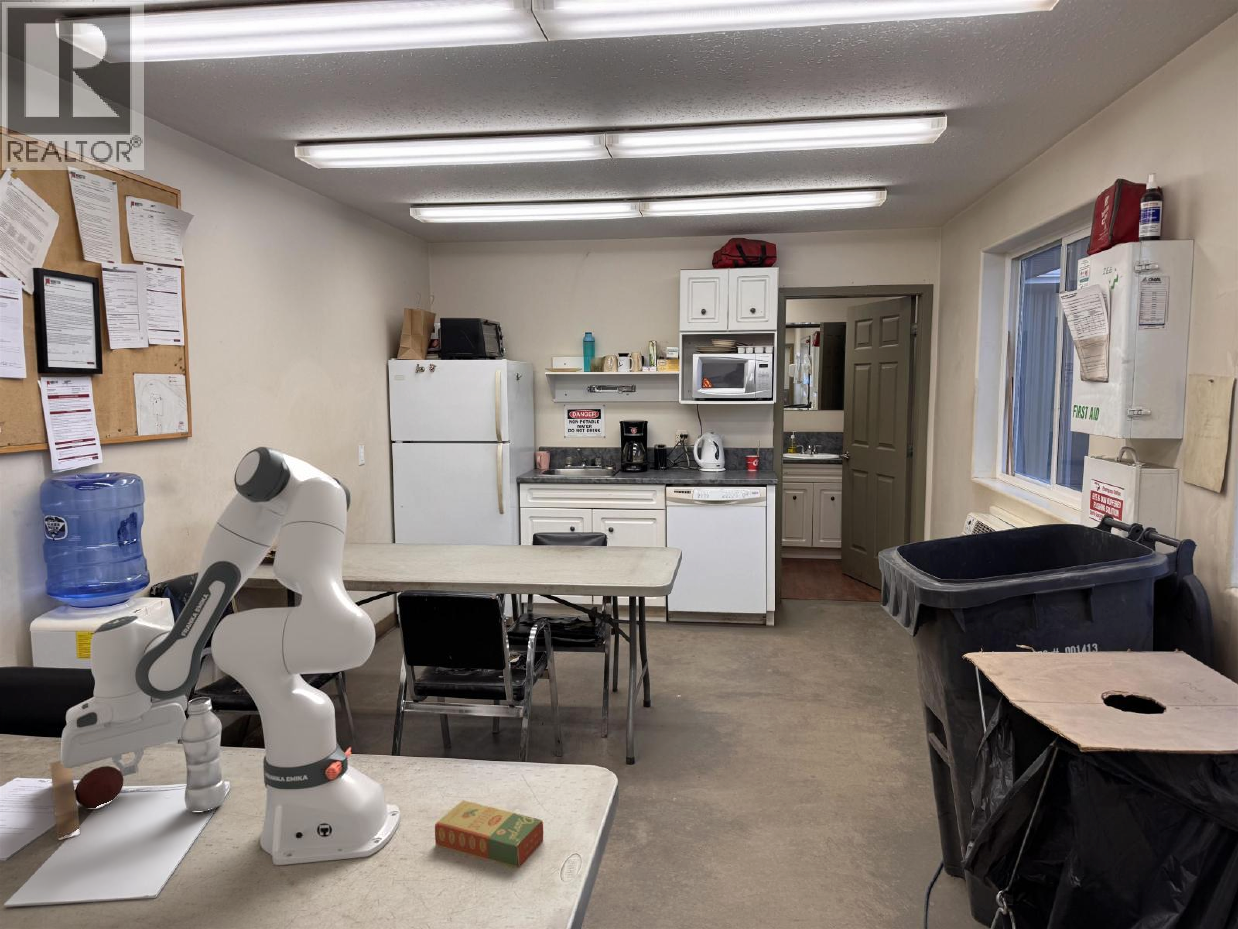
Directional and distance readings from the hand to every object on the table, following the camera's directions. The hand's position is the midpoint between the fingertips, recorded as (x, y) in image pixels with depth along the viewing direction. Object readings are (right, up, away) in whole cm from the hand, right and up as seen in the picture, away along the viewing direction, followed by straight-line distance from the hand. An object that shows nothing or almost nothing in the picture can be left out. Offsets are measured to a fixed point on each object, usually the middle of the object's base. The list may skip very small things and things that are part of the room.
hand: (129, 773), depth 144 cm
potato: (-2, -4, -5) cm, 6 cm away
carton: (+72, -4, -19) cm, 75 cm away
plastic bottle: (+18, -4, -7) cm, 20 cm away
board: (-8, -4, -6) cm, 11 cm away
